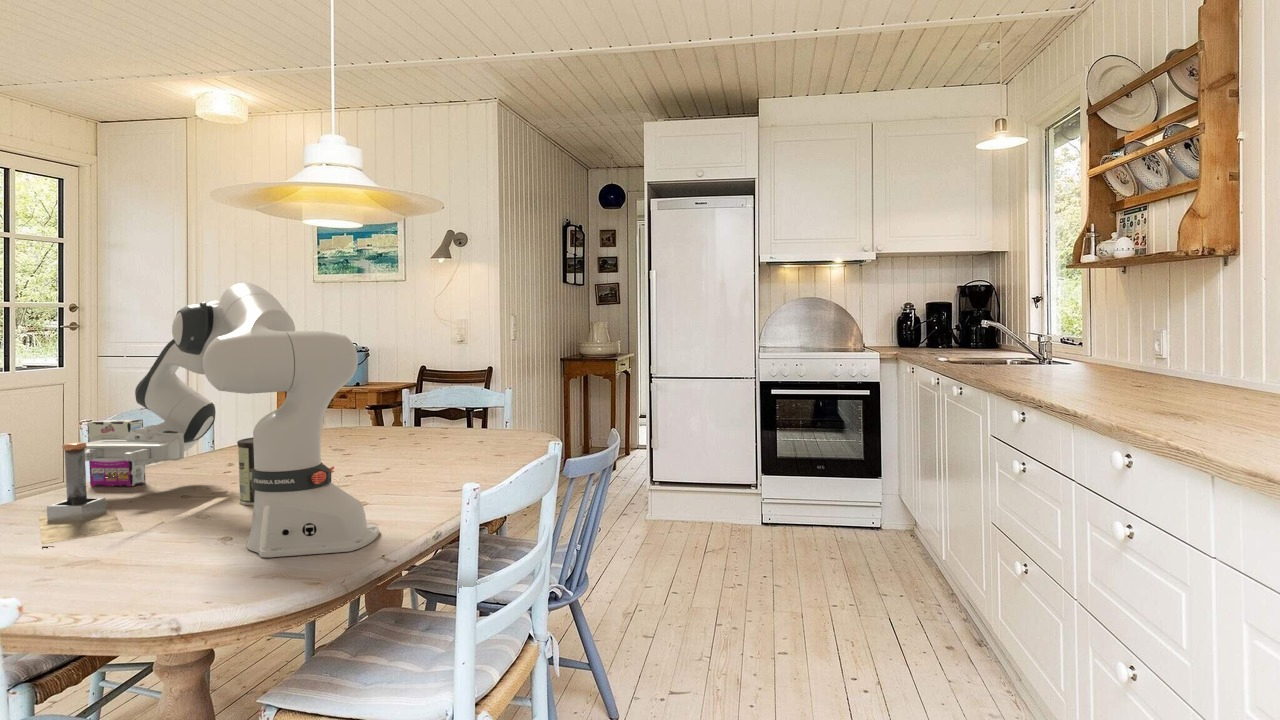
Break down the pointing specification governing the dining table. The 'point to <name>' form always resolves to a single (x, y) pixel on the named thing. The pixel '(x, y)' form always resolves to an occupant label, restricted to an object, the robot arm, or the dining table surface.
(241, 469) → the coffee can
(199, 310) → the robot arm
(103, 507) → the shallow grey tray
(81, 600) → the dining table surface
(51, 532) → the tan wooden board
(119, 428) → the candy bar box
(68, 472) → the pin
